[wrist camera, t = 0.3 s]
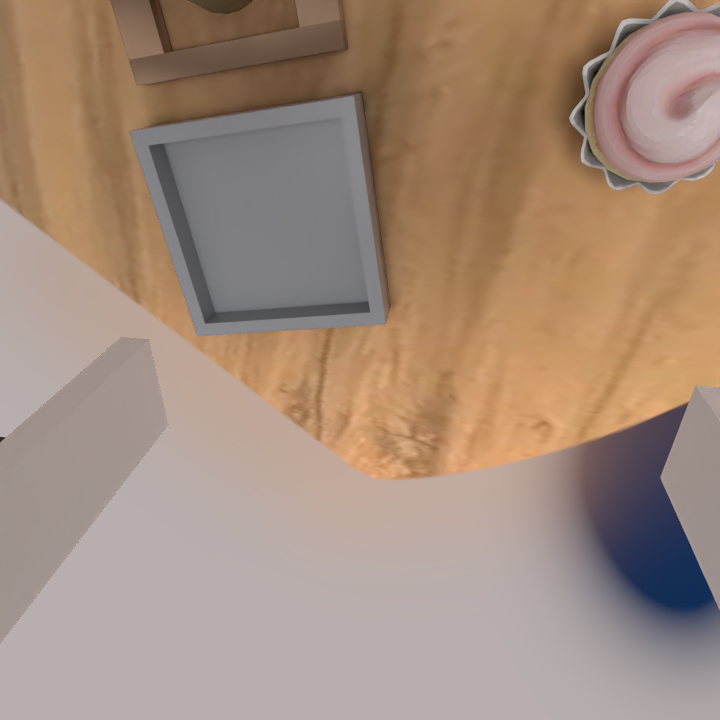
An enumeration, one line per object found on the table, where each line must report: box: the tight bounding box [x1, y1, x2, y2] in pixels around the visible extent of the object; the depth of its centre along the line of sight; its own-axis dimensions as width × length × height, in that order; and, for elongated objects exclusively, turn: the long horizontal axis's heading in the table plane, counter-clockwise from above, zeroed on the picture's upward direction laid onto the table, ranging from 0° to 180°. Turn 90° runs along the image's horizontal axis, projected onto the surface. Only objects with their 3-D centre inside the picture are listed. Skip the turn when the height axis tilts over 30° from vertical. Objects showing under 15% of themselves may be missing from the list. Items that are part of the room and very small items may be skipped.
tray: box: [129, 92, 391, 336], centre depth 38 cm, size 15×15×3 cm
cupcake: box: [569, 0, 720, 194], centre depth 28 cm, size 9×9×10 cm
